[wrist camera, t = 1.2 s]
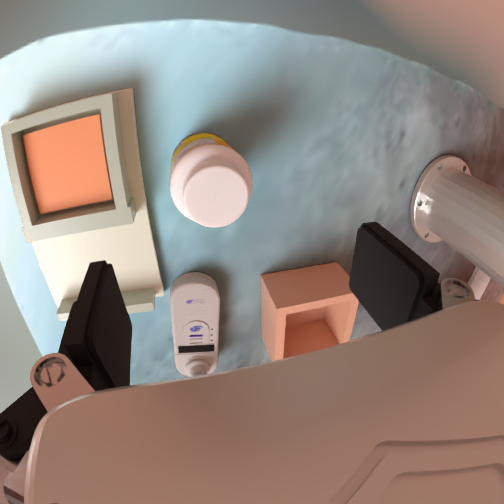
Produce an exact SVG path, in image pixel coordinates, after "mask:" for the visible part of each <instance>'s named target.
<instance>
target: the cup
mask: <svg viewBox="0 0 504 504" xmlns="http://www.w3.org/2000/svg"><path fill="white" fill-rule="evenodd" d="M349 280H350V277H349V276H348V274H347V273H346V272H345V271H344V270H343V269H342V267H341V266H340V265H339V264H338V263H337V262H334V263H328V264H322V265H316V266H311V267H305V268H299V269H293V270H287V271H281V272H275V273H268V274H262V275H261V335H262V338H263V341H264V343H265V346H266V348H267V351H268V354H269V356H270V359H271V361H275V360H280V359H284V358H288V357H292V356H296V355H300V354H304V353H308V352H312V351H316V350H320V349H323V348H327V347H330V346H334V345H338V344H341V343H345V342H348V341H349V339H350V335H351V332H352V328H353V324H354V320H355V316H356V312H357V308H358V304H359V300H358V299H357V298H356V297H355V295H354V294H353V293H352V292H351V290H350V287H349Z"/></svg>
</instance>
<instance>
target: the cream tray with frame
mask: <svg viewBox="0 0 504 504" xmlns="http://www.w3.org/2000/svg"><path fill="white" fill-rule="evenodd" d="M97 114H101V118H102V126H103V134H104V142H105V149H106V156H107V162H108V168H109V174H110V180H111V185H112V191H113V196H114V197H113V199H112V200H106V201H101V202H96V203H90V204H85V205H80V206H75V207H70V208H65V209H61V210H56V211H51V212H47V213H42V214H40V212H39V208H38V204H37V201H36V197H35V193H34V189H33V184H32V180H31V175H30V171H29V166H28V161H27V156H26V150H25V144H24V138H23V135H25V134H28V133H31V132H34V131H37V130H41V129H44V128H47V127H51V126H54V125H57V124H61V123H65V122H68V121H72V120H76V119H80V118H84V117H88V116H93V115H97ZM1 130H2V137H3V143H4V149H5V155H6V160H7V165H8V170H9V174H10V179H11V183H12V187H13V191H14V195H15V199H16V203H17V206H18V210H19V213H20V217H21V220H22V223H23V228H22V230H23V233H24V236H25V239H26V242H27V243H28V242H32V245H33V248H34V251H35V253H36V256H37V259H38V261H39V264H40V267H41V269H42V272H43V274H44V277H45V279H46V282H47V284H48V286H49V289H50V291H51V293H52V296H53V298H54V300H55V302H56V304H57V307H58V311H57V316H58V318H59V320H60V321H67V320H68V317H69V313H70V310H71V307H72V304H73V302H75V301H77V298H78V295H79V292H80V289H81V286H82V283H83V280H84V278H85V275H86V272H87V269H88V267H89V264H90V263H91V262H96V261H103V260H105V261H106V262H107V264H110V263H111V264H112V266H113V269H114V272H115V275H116V278H117V282H118V285H119V288H120V291H121V294H122V297H123V300H124V303H125V306H126V309H127V312H128V314H129V313H137V312H145V311H152V310H155V297H159V296H165V291H164V287H163V282H162V278H161V273H160V269H159V264H158V259H157V255H156V250H155V245H154V240H153V234H152V229H151V224H150V218H149V212H148V207H147V201H146V194H145V188H144V182H143V175H142V168H141V160H140V152H139V144H138V136H137V126H136V116H135V105H134V93H133V88H127V89H121V90H116V91H111V92H107V93H102V94H98V95H93V96H89V97H85V98H81V99H77V100H73V101H70V102H66V103H63V104H59V105H56V106H52V107H49V108H46V109H43V110H40V111H37V112H34V113H31V114H28V115H25V116H22V117H19V118H17V119H14V120H11V121H9V122H6V123H4V125H3V126H1Z"/></svg>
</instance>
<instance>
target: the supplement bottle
mask: <svg viewBox="0 0 504 504" xmlns="http://www.w3.org/2000/svg"><path fill="white" fill-rule="evenodd" d="M251 190H252V175H251V171H250V169H249V166H248V165H247V163H246V161H245V160H244V159H243V158H242V156H241V155H240V154H239V153H237V152H236V151H235V150H234V149H233V148H232V147H231V146H230V145H229V144H228V143H227V142H226V141H225V140H223V139H222V138H220V137H219V136H217V135H215V134H211V133H205V132H202V133H195V134H192V135H190V136H188V137H186V138H185V139H183V140H182V141H181V142H180V143H179V144H178V146H177V147H176V149H175V150H174V153H173V156H172V160H171V173H170V191H171V196H172V199H173V201H174V203H175V205H176V207H177V208H178V210H179V211H180V212H181V213H182V214H183V215H185V216H186V217H187V218H189V219H191V220H193V221H195V222H197V223H199V224H201V225H203V226H207V227H222V226H226V225H228V224H230V223H232V222H234V221H235V220H237V219H238V218H239V217H240V216H241V215H242V213H243V212H244V210H245V209H246V206H247V203H248V200H249V197H250V194H251Z"/></svg>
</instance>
